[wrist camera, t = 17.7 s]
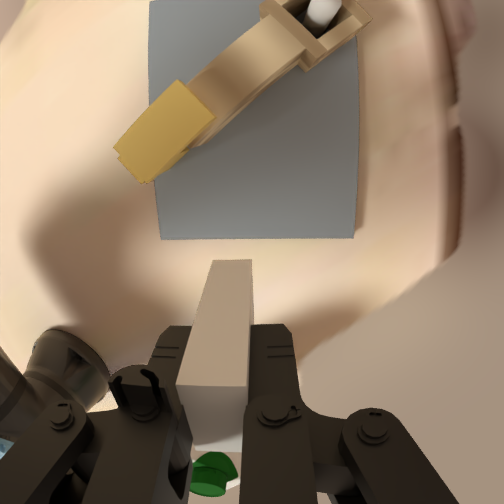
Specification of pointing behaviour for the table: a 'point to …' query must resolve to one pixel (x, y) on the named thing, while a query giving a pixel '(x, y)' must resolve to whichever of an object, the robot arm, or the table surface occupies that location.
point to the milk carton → (214, 472)
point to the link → (268, 57)
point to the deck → (246, 133)
